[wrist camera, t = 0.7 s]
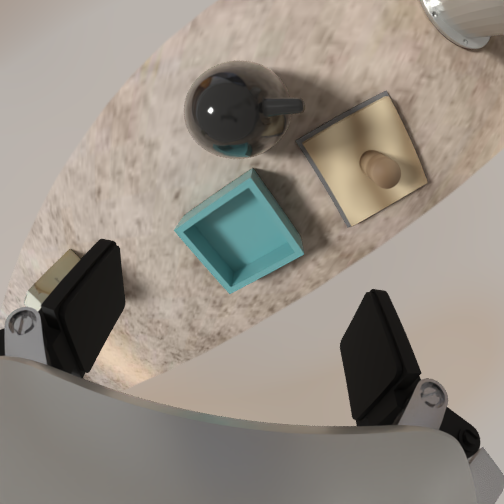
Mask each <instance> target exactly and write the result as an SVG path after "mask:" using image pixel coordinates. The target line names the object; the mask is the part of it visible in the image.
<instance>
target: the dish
mask: <svg viewBox="0 0 504 504" xmlns="http://www.w3.org/2000/svg"><path fill="white" fill-rule="evenodd" d="M174 231H175V232H176V233H177V235H178V236H179V237H180V238H181V239H182V240H183V242H184V243H185V244H186V245H187V246H188V247H189V249H190V250H191V251H192V252H193V253H194V254H195V255H196V257H197V258H198V259H199V260H200V261H201V262H202V263H203V265H204V266H205V267H206V268H207V269H208V270H209V271H210V273H211V274H212V275H213V276H214V277H215V278H216V279H217V280H218V282H219V283H220V284H221V285H222V286H223V287H224V288H225V289H226V290H227V292H228V293H229V294H231V293H233V292H235V291H237V290H239V289H241V288H242V287H244V286H246V285H248V284H250V283H252V282H254V281H256V280H258V279H259V278H261V277H263V276H265V275H267V274H269V273H271V272H272V271H274V270H276V269H278V268H280V267H282V266H284V265H285V264H287V263H289V262H291V261H293V260H295V259H297V258H298V257H300V256H302V255H304V250H303V245H302V240H301V236H300V235H299V233H298V232H297V230H296V229H295V227H294V226H293V224H292V223H291V221H290V220H289V218H288V217H287V216H286V214H285V213H284V211H283V210H282V208H281V207H280V205H279V204H278V203H277V201H276V200H275V198H274V197H273V195H272V194H271V192H270V191H269V190H268V188H267V187H266V185H265V184H264V183H263V181H262V180H261V178H260V177H259V176H258V174H257V173H256V171H255V170H254V169H253V168H252V169H250V170H249V171H247V172H246V173H244V174H243V175H241V176H240V177H238V178H237V179H235V180H234V181H232V182H231V183H229V184H228V185H226V186H225V187H223V188H222V189H221V190H219V191H218V192H216V193H215V194H213V195H212V196H210V197H209V198H208V199H206V200H205V201H203V202H202V203H201V204H199V205H198V206H196V207H195V208H193V209H192V210H191V211H189V212H188V213H187V214H185V215H184V216H183V218H182V219H181V220H180V222H179V223H178V225H177V226H176V228H175V229H174Z"/></svg>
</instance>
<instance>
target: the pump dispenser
mask: <svg viewBox="0 0 504 504" xmlns="http://www.w3.org/2000/svg"><path fill="white" fill-rule="evenodd" d="M304 110H305V103H304V101H303V99H301V98H290V95H289V92H288V90H287V88H286V86H285V84H284V83H283V81H282V80H281V79H280V78H279V76H278V75H276V74H275V73H274V72H273V71H272V70H270V69H268V68H267V67H265V66H263V65H260V64H258V63H254V62H250V61H230V62H225V63H221V64H218V65H216V66H214V67H212V68H210V69H208V70H207V71H205V72H204V73H203V74H202V75H200V76H199V77H198V78H197V79H196V81H195V82H194V83H193V84H192V86H191V88H190V89H189V91H188V93H187V96H186V99H185V104H184V119H185V123H186V127H187V129H188V131H189V133H190V135H191V136H192V138H193V139H194V140H195V141H196V143H197V144H198V145H200V146H201V147H202V148H203V149H205V150H206V151H208V152H210V153H212V154H214V155H217V156H220V157H223V158H229V159H244V158H250V157H254V156H257V155H259V154H262V153H264V152H266V151H267V150H269V149H270V148H272V147H273V146H274V145H275V144H277V143H278V142H279V140H280V139H281V138H282V137H283V135H284V134H285V132H286V130H287V128H288V126H289V123H290V120H291V114H296V113H302V112H303V111H304Z"/></svg>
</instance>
